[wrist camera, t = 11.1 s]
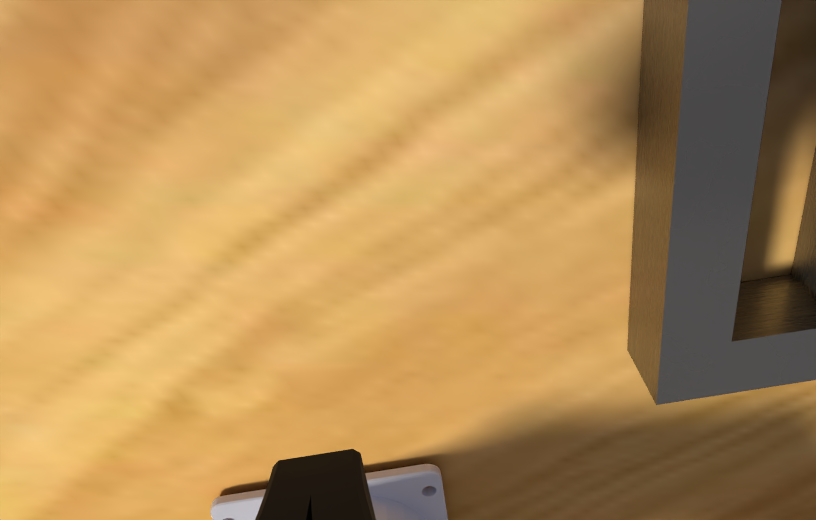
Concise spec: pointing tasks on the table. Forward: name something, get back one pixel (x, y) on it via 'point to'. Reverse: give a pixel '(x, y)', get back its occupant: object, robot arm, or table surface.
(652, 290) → the rack
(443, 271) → the table surface
